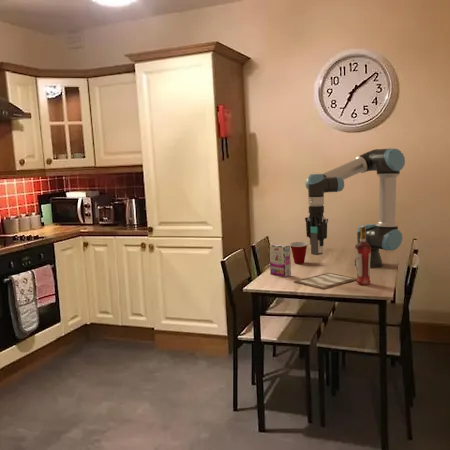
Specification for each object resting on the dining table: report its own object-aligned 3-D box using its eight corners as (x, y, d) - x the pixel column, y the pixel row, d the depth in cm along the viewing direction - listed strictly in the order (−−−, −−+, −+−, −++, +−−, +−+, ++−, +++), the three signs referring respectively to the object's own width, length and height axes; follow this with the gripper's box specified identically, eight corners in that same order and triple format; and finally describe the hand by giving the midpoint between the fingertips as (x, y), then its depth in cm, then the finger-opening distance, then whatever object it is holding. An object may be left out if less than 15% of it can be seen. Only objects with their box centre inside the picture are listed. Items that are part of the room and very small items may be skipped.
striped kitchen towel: (328, 273, 274) (328, 272, 274) (358, 279, 258) (358, 278, 258) (293, 282, 259) (293, 281, 259) (323, 289, 243) (323, 288, 243)
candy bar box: (291, 275, 274) (290, 245, 272) (285, 277, 271) (284, 246, 269) (276, 272, 282) (275, 243, 280) (270, 274, 279) (268, 244, 277)
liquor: (353, 282, 253) (352, 226, 249) (368, 281, 253) (367, 225, 250) (358, 286, 246) (357, 228, 242) (373, 285, 246) (372, 227, 242)
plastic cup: (288, 265, 301) (288, 244, 299) (291, 261, 311) (290, 241, 309) (307, 265, 298) (306, 244, 296) (309, 261, 308) (309, 241, 306)
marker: (316, 253, 259) (316, 225, 258) (322, 254, 256) (322, 226, 254) (310, 254, 257) (310, 226, 255) (317, 255, 254) (316, 227, 252)
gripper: (298, 205, 258) (299, 251, 261) (324, 206, 244) (324, 255, 247) (308, 204, 262) (309, 249, 265) (334, 205, 249) (335, 253, 252)
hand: (316, 251), depth 256 cm, fingers closed on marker, 4 cm apart
